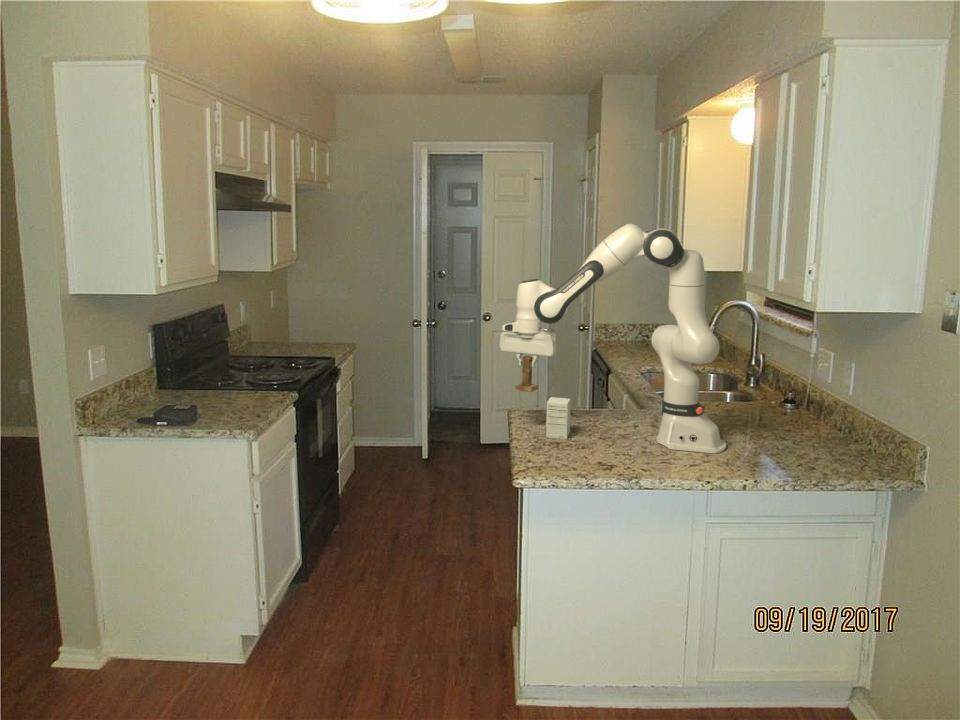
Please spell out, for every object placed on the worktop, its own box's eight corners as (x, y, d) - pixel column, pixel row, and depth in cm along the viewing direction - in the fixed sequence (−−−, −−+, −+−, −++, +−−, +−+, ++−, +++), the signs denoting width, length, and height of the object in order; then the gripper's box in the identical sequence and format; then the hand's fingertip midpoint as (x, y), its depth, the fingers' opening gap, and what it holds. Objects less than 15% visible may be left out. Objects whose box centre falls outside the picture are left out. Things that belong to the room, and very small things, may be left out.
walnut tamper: (537, 388, 261) (539, 356, 259) (531, 392, 256) (532, 359, 253) (522, 386, 264) (523, 354, 261) (515, 390, 258) (515, 357, 256)
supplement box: (549, 431, 262) (550, 396, 259) (570, 433, 260) (571, 398, 257) (545, 437, 255) (546, 401, 252) (566, 439, 253) (568, 403, 250)
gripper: (560, 328, 253) (558, 368, 256) (505, 323, 263) (504, 361, 265) (553, 330, 248) (551, 371, 251) (497, 325, 257) (497, 364, 260)
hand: (527, 366), depth 258 cm, fingers closed on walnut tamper, 2 cm apart
